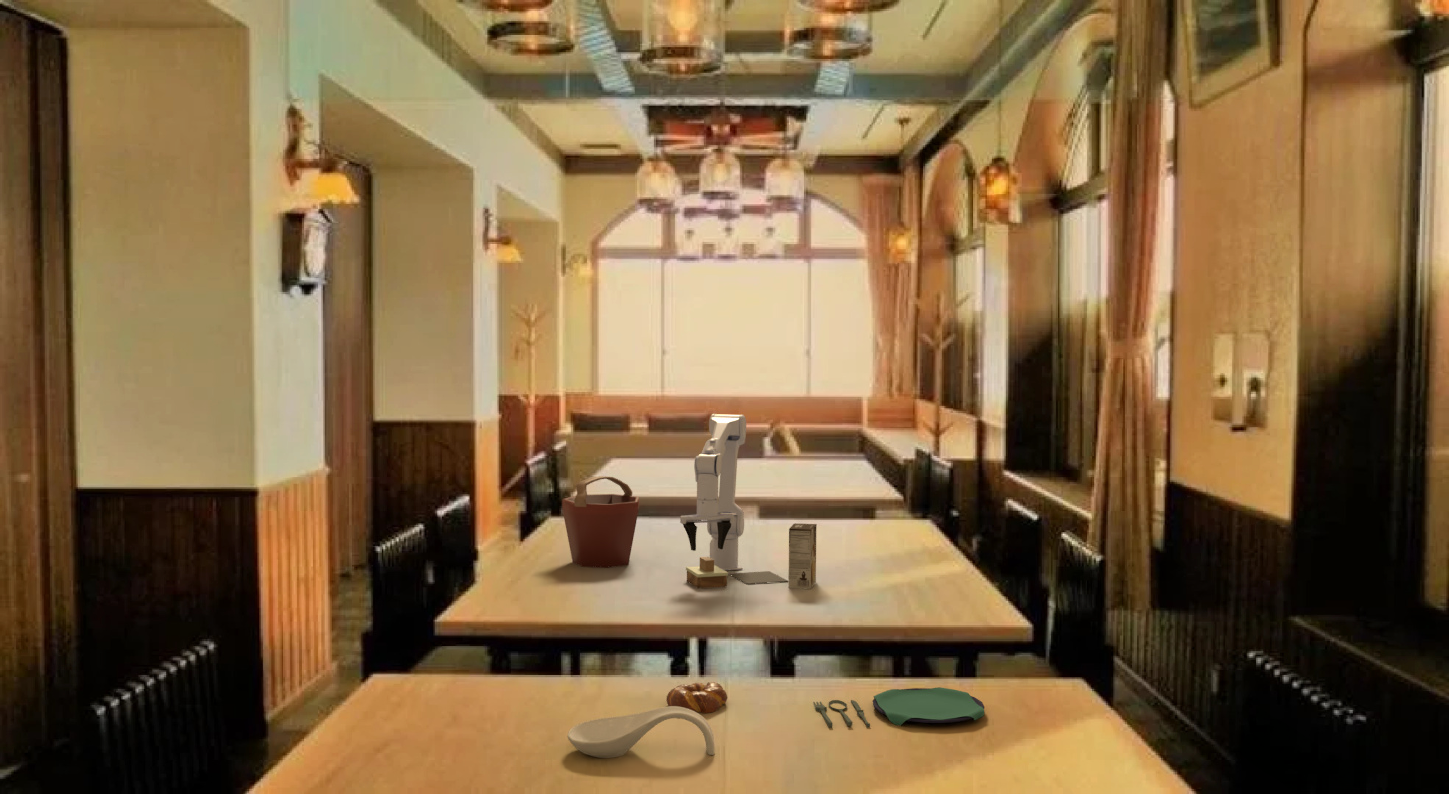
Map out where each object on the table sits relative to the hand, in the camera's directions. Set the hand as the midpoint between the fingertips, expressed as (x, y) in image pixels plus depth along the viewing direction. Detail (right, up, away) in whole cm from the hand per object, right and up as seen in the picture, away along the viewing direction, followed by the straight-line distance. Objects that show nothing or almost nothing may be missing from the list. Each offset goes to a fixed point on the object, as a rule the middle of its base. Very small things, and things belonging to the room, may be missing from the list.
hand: (706, 549), depth 327 cm
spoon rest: (-9, -17, -130) cm, 131 cm away
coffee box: (+26, -10, 0) cm, 27 cm away
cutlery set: (+36, -16, -108) cm, 115 cm away
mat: (+14, -9, +9) cm, 19 cm away
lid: (0, -6, 0) cm, 6 cm away
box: (0, -9, +1) cm, 9 cm away
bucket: (-32, -8, +30) cm, 44 cm away
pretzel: (0, -16, -105) cm, 106 cm away
